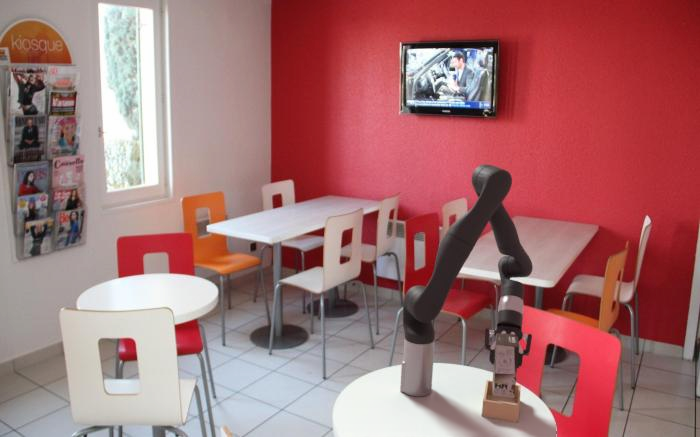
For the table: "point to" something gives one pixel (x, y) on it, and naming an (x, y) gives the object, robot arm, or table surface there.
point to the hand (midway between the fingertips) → (505, 365)
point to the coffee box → (505, 365)
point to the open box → (501, 404)
